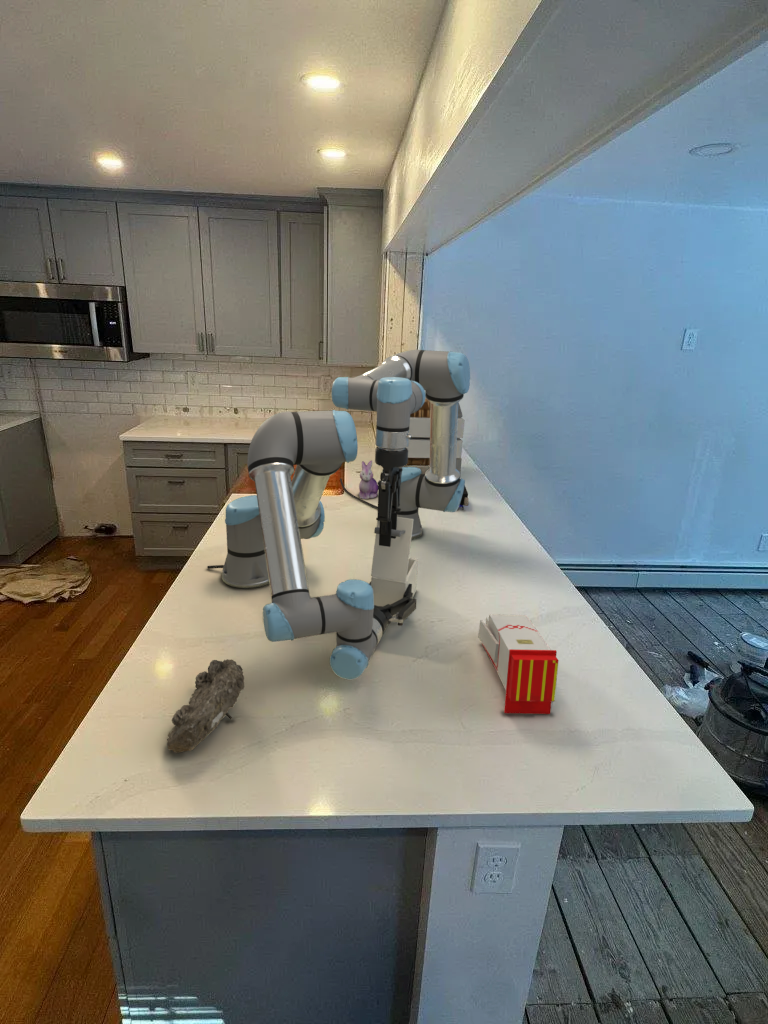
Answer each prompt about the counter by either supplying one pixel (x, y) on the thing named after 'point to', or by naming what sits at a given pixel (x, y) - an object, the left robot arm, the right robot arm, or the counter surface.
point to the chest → (394, 586)
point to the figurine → (367, 482)
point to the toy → (521, 662)
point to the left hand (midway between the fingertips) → (392, 585)
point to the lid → (393, 552)
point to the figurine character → (464, 499)
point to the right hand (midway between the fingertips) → (387, 541)
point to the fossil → (206, 705)
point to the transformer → (428, 437)
